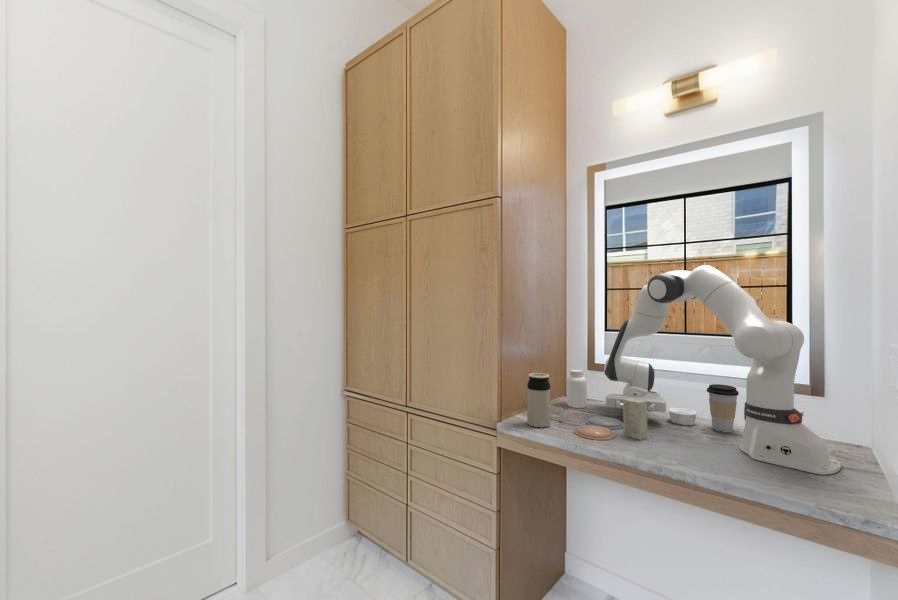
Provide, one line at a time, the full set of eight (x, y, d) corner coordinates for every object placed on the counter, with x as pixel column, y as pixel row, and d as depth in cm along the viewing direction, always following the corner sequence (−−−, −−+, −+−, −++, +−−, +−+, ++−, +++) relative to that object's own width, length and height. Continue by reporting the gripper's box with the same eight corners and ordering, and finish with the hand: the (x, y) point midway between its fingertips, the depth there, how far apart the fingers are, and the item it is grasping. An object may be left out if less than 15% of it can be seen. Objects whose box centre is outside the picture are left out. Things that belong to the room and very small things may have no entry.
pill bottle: (563, 403, 179) (564, 369, 178) (581, 403, 179) (581, 368, 179) (571, 408, 171) (571, 372, 171) (589, 408, 172) (590, 372, 171)
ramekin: (702, 424, 150) (702, 412, 150) (684, 427, 147) (684, 415, 147) (680, 418, 159) (680, 406, 159) (663, 420, 155) (663, 409, 155)
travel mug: (554, 425, 148) (554, 375, 148) (539, 429, 144) (539, 377, 144) (538, 420, 155) (538, 371, 155) (522, 423, 150) (522, 374, 150)
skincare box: (647, 437, 136) (648, 400, 136) (640, 440, 133) (640, 402, 133) (630, 432, 141) (630, 396, 141) (622, 435, 139) (622, 398, 138)
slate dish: (631, 425, 149) (631, 422, 149) (608, 432, 142) (608, 428, 142) (600, 416, 160) (600, 413, 160) (578, 422, 153) (578, 418, 153)
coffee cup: (744, 435, 139) (744, 390, 139) (712, 433, 141) (713, 388, 141) (730, 426, 148) (731, 384, 148) (701, 424, 150) (702, 383, 150)
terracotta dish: (623, 435, 138) (623, 432, 138) (598, 443, 131) (598, 439, 131) (591, 425, 149) (591, 421, 149) (566, 431, 142) (566, 428, 142)
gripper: (606, 388, 164) (603, 396, 151) (664, 393, 155) (667, 401, 143) (606, 404, 164) (603, 413, 151) (664, 410, 155) (667, 420, 143)
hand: (635, 407), depth 147 cm, fingers open, 8 cm apart
